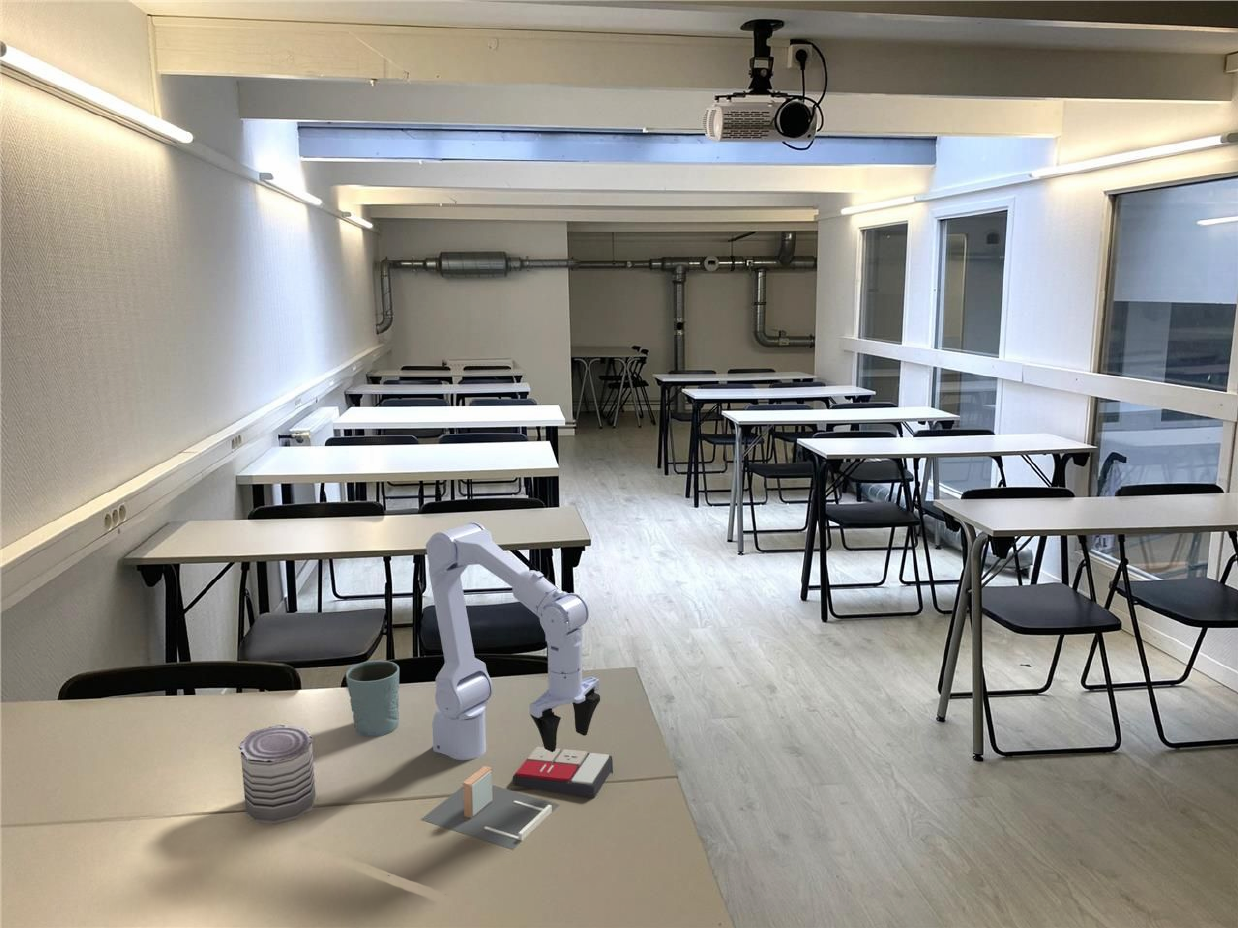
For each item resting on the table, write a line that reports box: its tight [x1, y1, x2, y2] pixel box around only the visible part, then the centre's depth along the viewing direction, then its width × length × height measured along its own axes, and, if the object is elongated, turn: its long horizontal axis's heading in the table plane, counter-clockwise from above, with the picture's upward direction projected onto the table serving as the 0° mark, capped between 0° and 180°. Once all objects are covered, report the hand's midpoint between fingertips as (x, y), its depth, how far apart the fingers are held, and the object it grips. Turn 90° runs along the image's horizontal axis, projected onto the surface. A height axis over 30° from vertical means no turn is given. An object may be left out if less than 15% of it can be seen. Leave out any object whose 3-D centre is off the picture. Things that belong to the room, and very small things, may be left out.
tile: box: [462, 765, 493, 818], centre depth 154 cm, size 2×6×6 cm, turn 153°
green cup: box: [345, 660, 400, 738], centre depth 185 cm, size 10×10×12 cm
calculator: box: [512, 746, 614, 800], centre depth 165 cm, size 11×4×15 cm
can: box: [237, 724, 317, 825], centre depth 157 cm, size 11×11×12 cm
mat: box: [420, 784, 560, 850], centre depth 154 cm, size 18×14×2 cm
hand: (565, 741), depth 159 cm, fingers open, 7 cm apart
